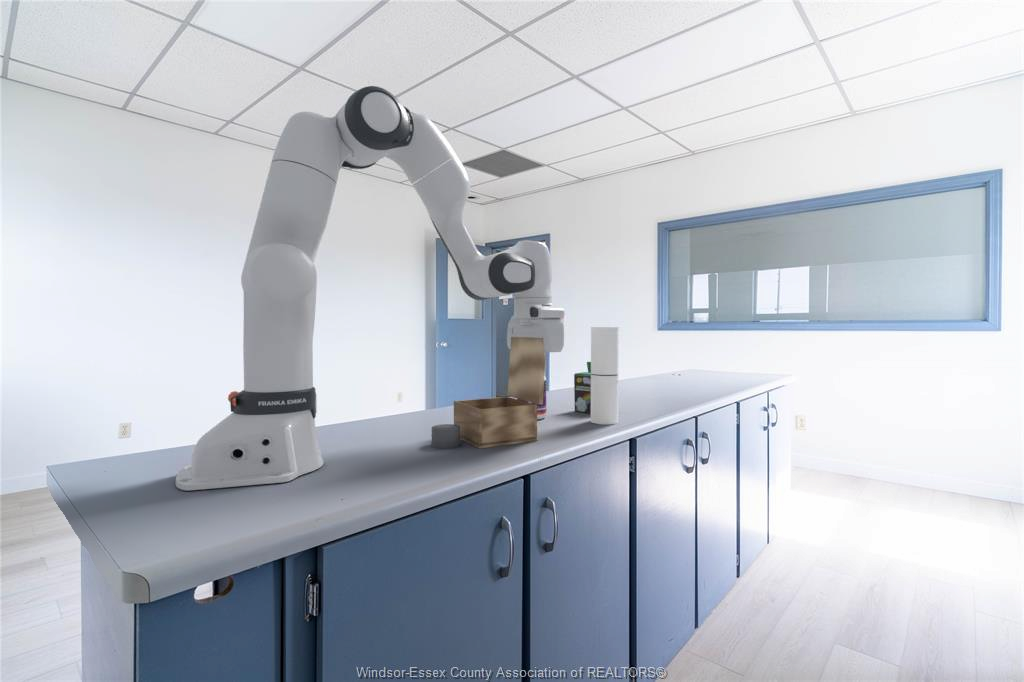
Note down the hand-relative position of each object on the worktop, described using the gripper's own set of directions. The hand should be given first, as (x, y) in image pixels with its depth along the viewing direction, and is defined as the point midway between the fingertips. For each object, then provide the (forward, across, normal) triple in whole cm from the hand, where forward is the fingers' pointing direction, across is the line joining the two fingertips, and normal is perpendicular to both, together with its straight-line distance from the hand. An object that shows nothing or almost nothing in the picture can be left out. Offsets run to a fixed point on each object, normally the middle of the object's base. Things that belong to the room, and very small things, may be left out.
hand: (533, 370), depth 116 cm
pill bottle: (+15, -17, +10) cm, 25 cm away
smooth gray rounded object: (+15, +1, -22) cm, 27 cm away
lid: (0, 0, -2) cm, 3 cm away
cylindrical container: (+15, -3, +24) cm, 28 cm away
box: (+15, 0, -10) cm, 18 cm away
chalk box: (+15, -17, +32) cm, 39 cm away
